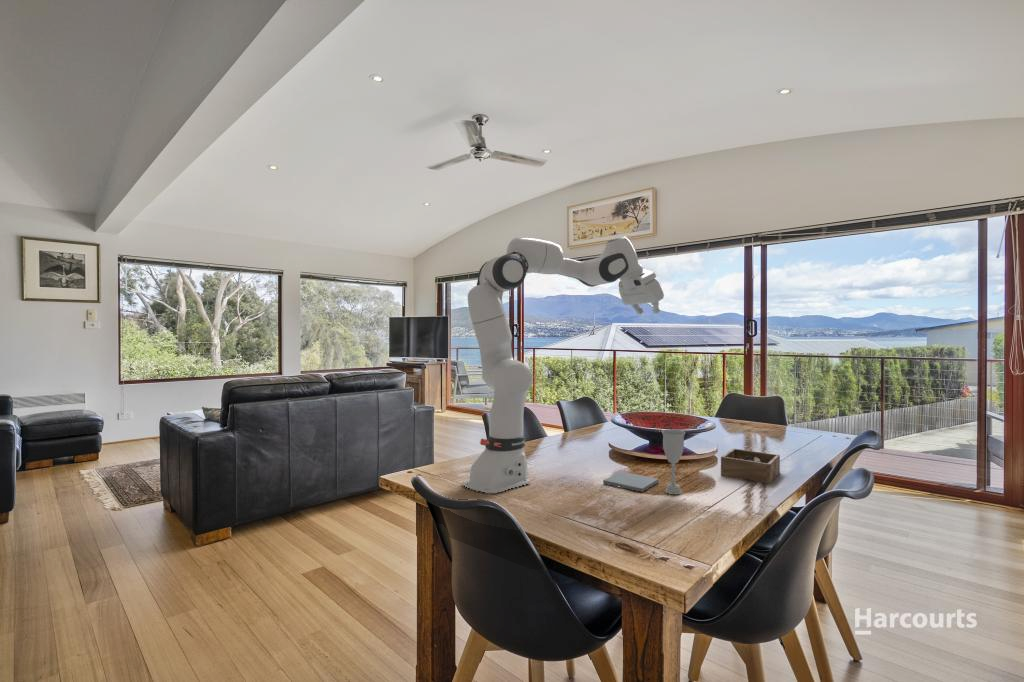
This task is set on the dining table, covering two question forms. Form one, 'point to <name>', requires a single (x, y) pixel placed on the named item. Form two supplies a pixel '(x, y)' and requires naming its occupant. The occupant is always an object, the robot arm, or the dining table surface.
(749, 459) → the eagle figurine
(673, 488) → the chalice
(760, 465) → the walnut display box
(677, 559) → the dining table surface
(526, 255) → the robot arm
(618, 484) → the slate board
